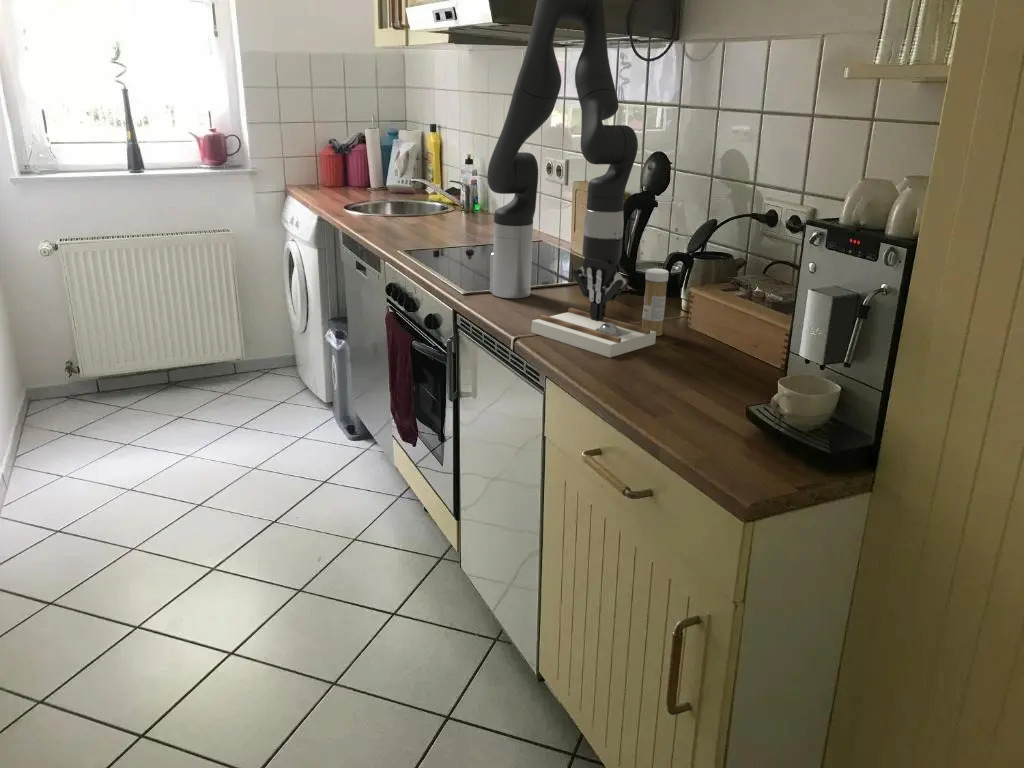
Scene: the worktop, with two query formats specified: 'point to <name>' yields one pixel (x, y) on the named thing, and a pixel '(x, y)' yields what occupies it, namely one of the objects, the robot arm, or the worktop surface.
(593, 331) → the track board
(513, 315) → the worktop surface
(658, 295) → the sprinkles bottle
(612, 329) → the ball
